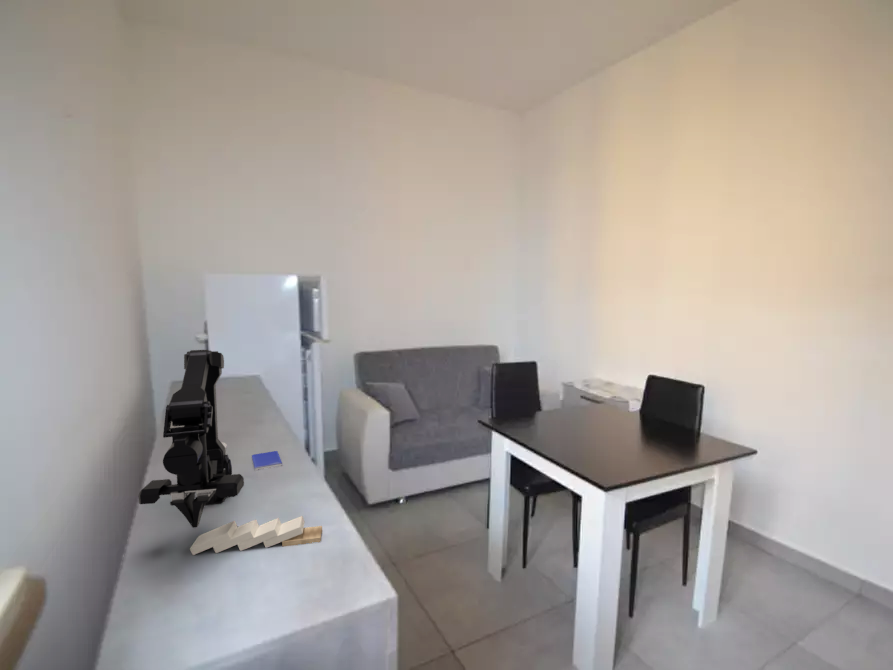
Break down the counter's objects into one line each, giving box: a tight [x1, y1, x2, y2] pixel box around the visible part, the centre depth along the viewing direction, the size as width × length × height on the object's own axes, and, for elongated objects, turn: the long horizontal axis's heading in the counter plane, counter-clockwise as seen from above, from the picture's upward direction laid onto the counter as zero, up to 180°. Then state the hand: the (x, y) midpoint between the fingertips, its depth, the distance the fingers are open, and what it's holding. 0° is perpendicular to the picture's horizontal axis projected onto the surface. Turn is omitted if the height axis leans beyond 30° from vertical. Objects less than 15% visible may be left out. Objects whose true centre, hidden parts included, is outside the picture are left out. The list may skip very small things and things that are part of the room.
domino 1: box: [189, 520, 239, 556], centre depth 94 cm, size 5×2×8 cm
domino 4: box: [262, 515, 306, 549], centre depth 97 cm, size 5×2×8 cm
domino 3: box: [237, 517, 282, 552], centre depth 96 cm, size 5×2×8 cm
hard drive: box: [251, 450, 283, 471], centre depth 142 cm, size 2×8×12 cm
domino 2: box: [212, 519, 259, 554], centre depth 95 cm, size 5×2×8 cm
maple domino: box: [281, 525, 323, 547], centre depth 97 cm, size 5×2×8 cm
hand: (195, 526), depth 93 cm, fingers closed
